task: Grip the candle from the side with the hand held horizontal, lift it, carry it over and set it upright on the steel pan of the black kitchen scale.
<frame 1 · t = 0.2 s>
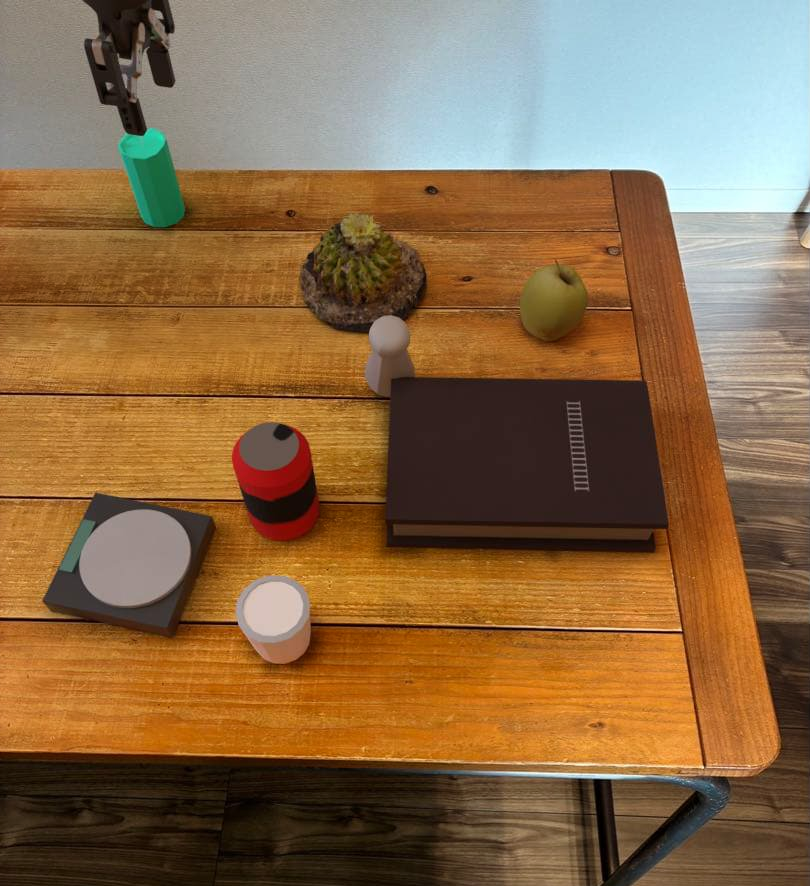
hand: (151, 108, 87), 22 cm above the table, tool pointing down, fingers open, 8 cm apart
candle: (163, 213, 111), on the table
salt shaker: (390, 381, 96), on the table, touching book
kitchen scale: (136, 568, 85), on the table
soda can: (284, 512, 88), on the table
apple: (547, 328, 102), on the table
book: (515, 474, 91), on the table, touching salt shaker
yogurt cup: (282, 638, 81), on the table
cactus: (364, 285, 105), on the table
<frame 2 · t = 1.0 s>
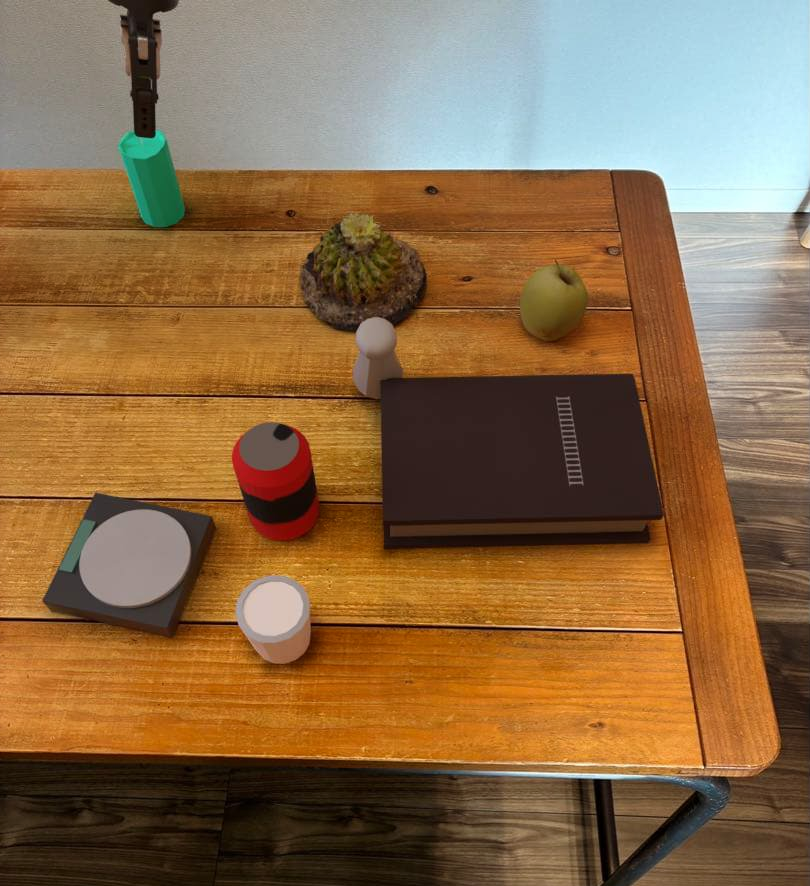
hand: (143, 118, 90), 19 cm above the table, tool tilted 15°, fingers open, 8 cm apart
salt shaker: (378, 383, 96), on the table, touching book
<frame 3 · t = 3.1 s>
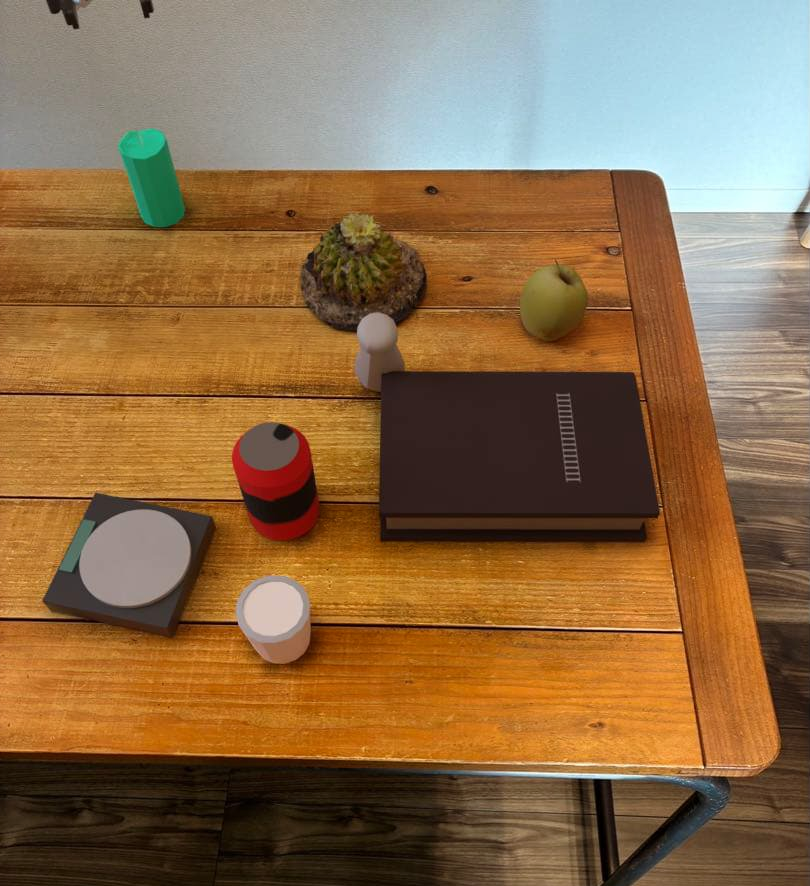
hand: (109, 15, 99), 20 cm above the table, tool horizontal, fingers open, 8 cm apart
salt shaker: (380, 374, 97), point 1 cm above the table, touching book
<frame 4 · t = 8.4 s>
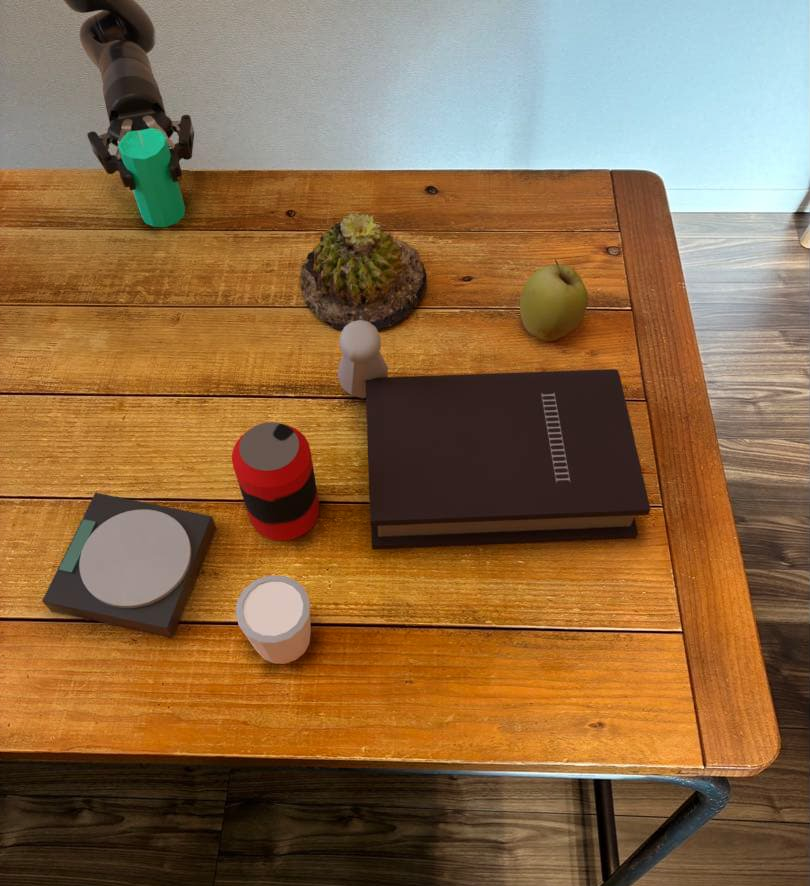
hand: (152, 179, 104), 7 cm above the table, tool horizontal, fingers closed on candle, 5 cm apart
candle: (163, 213, 111), on the table, touching gripper
salt shaker: (363, 380, 96), point 1 cm above the table, touching book
book: (494, 468, 91), on the table, touching salt shaker
everything else where it was.
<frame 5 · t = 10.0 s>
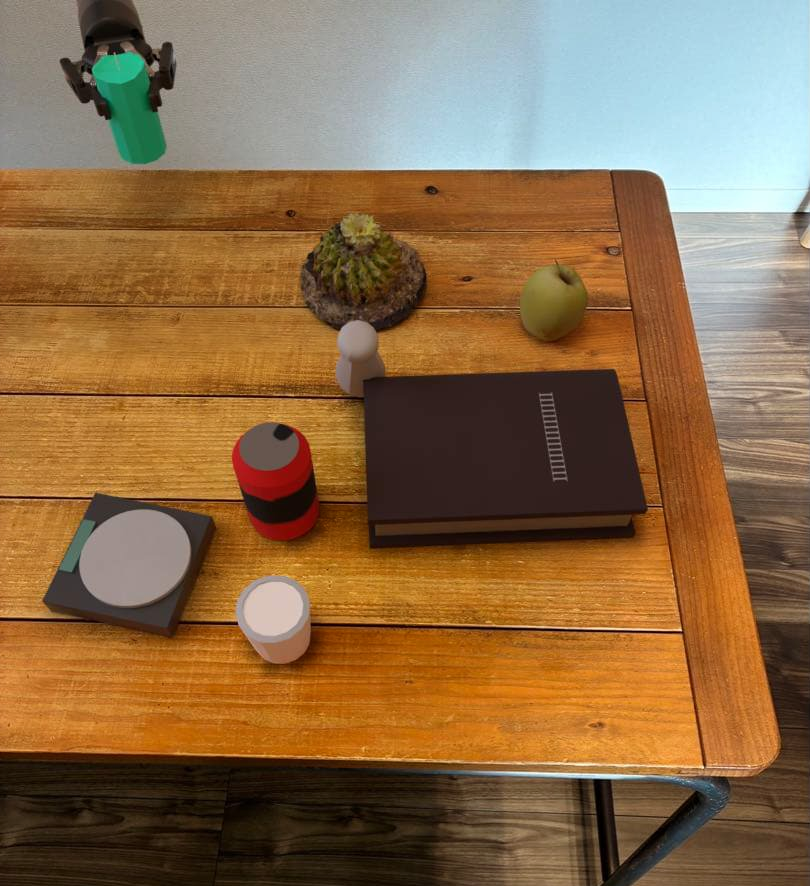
hand: (130, 108, 96), 17 cm above the table, tool horizontal, fingers closed on candle, 5 cm apart
candle: (143, 150, 103), point 9 cm above the table, touching gripper
everything else where it was.
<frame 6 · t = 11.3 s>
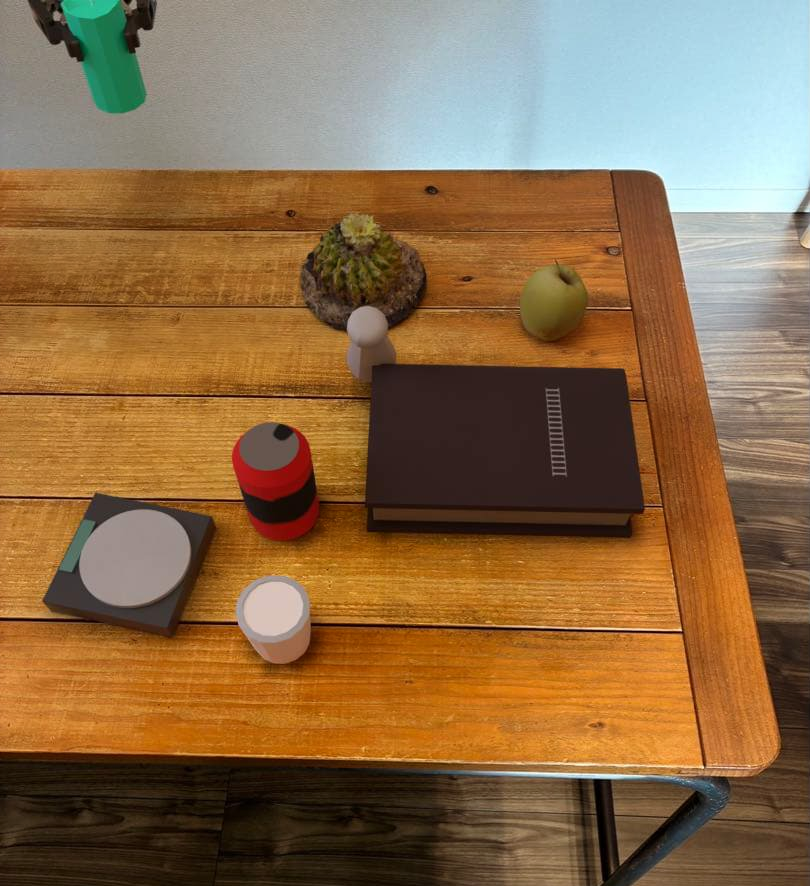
hand: (104, 48, 86), 25 cm above the table, tool horizontal, fingers closed on candle, 5 cm apart
candle: (120, 99, 94), point 18 cm above the table, touching gripper
salt shaker: (372, 365, 97), point 1 cm above the table, touching book
book: (495, 460, 92), on the table, touching salt shaker
everything else where it was.
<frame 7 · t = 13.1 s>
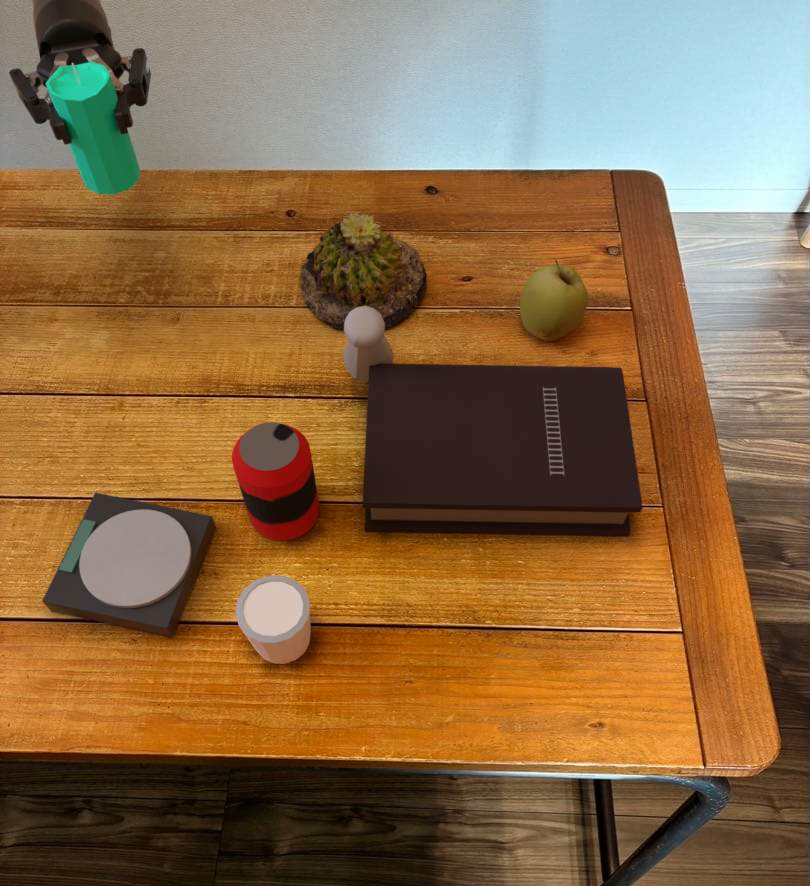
hand: (93, 130, 79), 26 cm above the table, tool horizontal, fingers closed on candle, 5 cm apart
candle: (112, 177, 87), point 19 cm above the table, touching gripper
when the fingers open (10 cm above the table, at t = 22.4 s): candle stays where it is, resting on kitchen scale.
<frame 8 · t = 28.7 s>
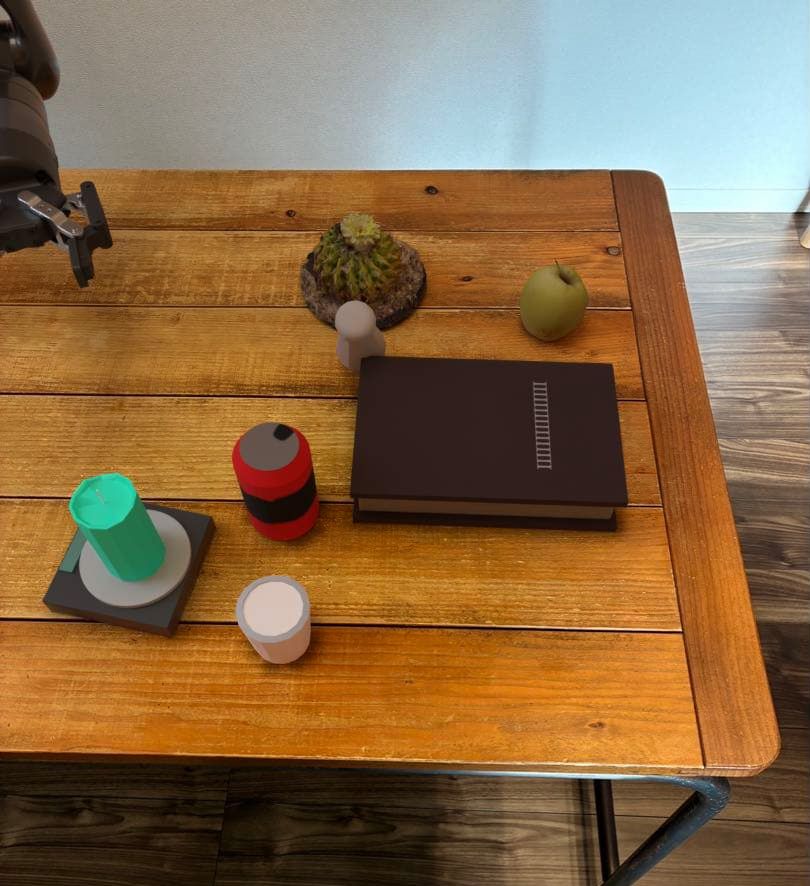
hand: (27, 290, 65), 28 cm above the table, tool horizontal, fingers open, 8 cm apart
candle: (136, 556, 82), point 3 cm above the table, touching kitchen scale
salt shaker: (362, 353, 98), point 1 cm above the table, touching book
book: (482, 453, 92), on the table, touching salt shaker
everything else where it was.
at the end: candle inside the target area on the kitchen scale (0.1 cm from its centre), point 2.8 cm above the kitchen scale's base; candle tilted 0°; the gripper is holding nothing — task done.
